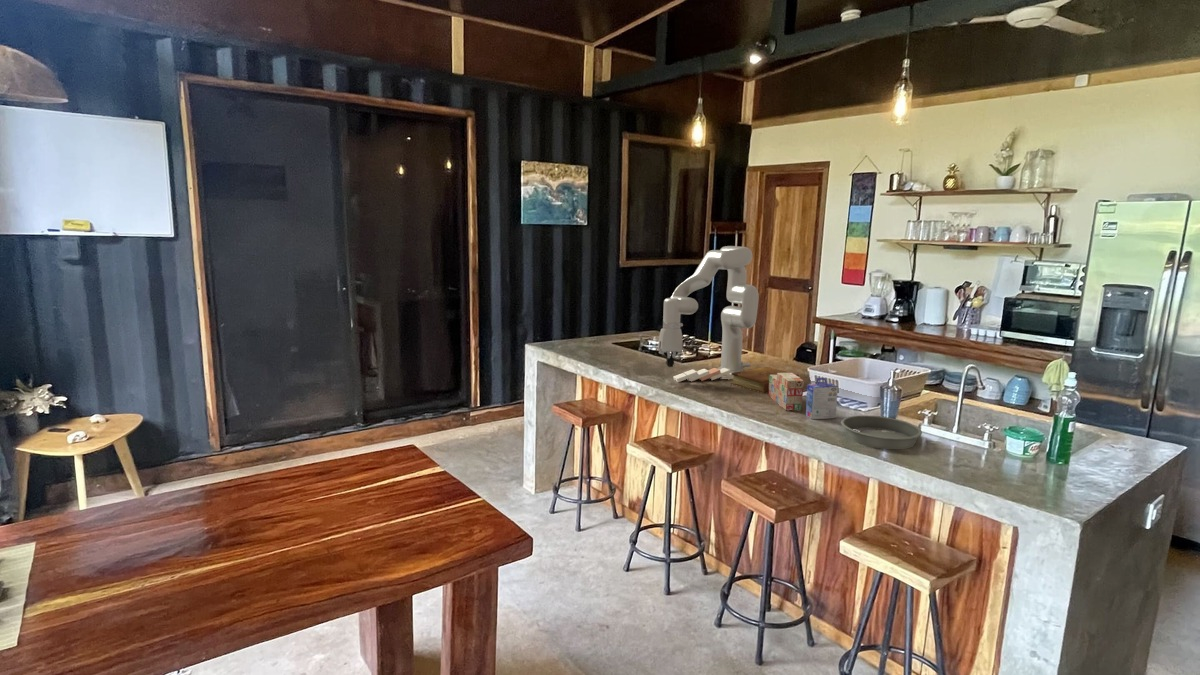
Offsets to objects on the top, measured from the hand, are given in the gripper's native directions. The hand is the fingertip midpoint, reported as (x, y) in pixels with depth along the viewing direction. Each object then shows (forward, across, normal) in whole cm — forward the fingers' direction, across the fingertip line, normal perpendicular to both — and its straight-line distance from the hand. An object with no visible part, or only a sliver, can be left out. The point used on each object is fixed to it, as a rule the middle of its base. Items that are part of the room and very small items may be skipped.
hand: (669, 366), depth 281 cm
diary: (+7, -39, +15) cm, 43 cm away
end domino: (+6, -25, 0) cm, 25 cm away
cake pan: (+7, -42, +87) cm, 97 cm away
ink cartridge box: (+7, -36, +62) cm, 72 cm away
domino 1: (+6, -9, 0) cm, 11 cm away
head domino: (+6, -3, 0) cm, 7 cm away
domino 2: (+6, -19, 0) cm, 20 cm away
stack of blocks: (+7, -32, +43) cm, 54 cm away
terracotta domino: (+6, -14, 0) cm, 15 cm away
